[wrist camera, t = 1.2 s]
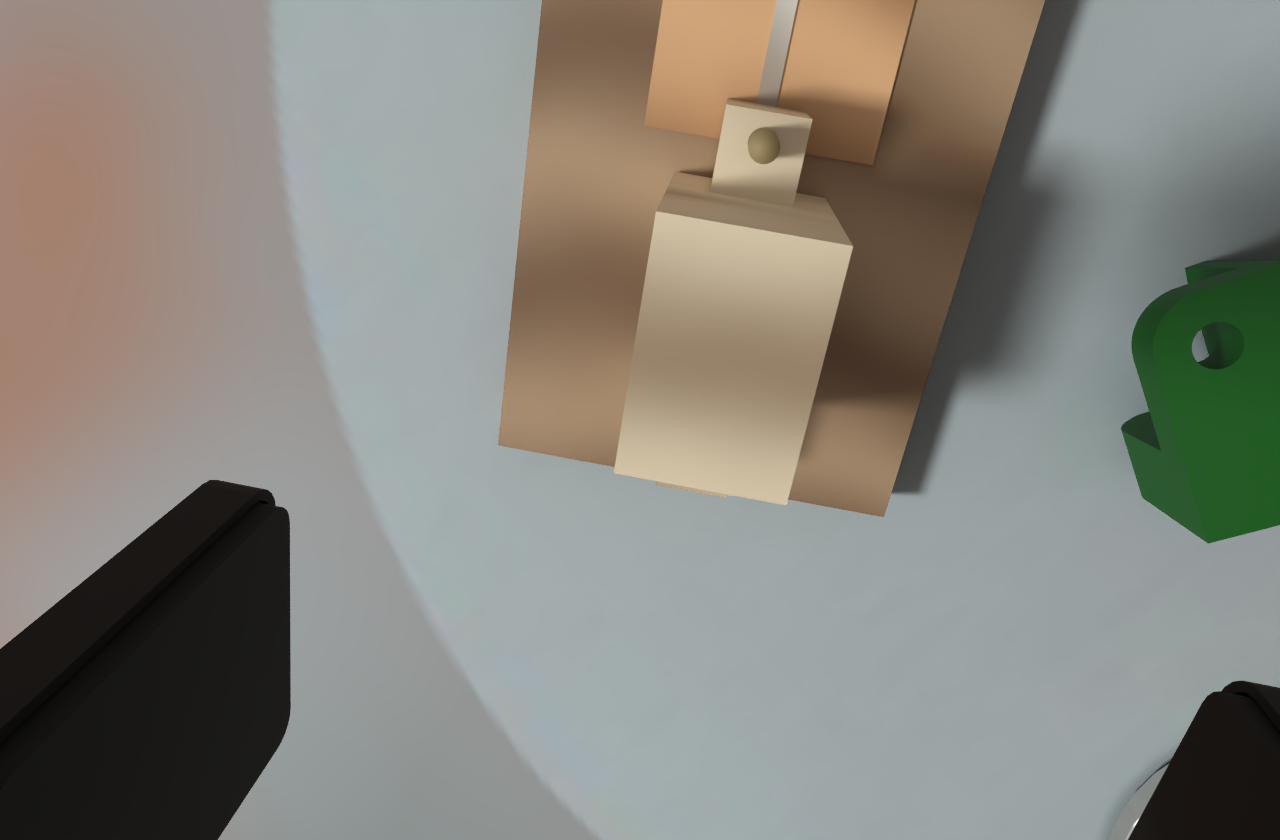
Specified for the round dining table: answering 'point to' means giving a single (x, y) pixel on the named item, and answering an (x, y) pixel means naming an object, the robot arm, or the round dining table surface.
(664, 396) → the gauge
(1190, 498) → the clamp
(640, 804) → the round dining table surface
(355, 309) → the round dining table surface
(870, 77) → the board
